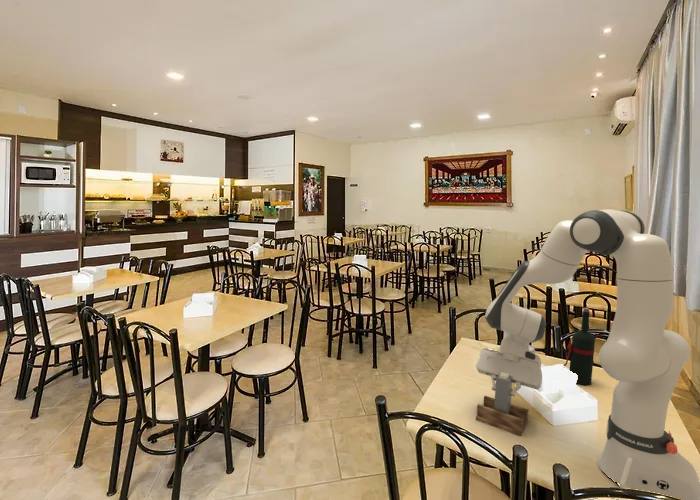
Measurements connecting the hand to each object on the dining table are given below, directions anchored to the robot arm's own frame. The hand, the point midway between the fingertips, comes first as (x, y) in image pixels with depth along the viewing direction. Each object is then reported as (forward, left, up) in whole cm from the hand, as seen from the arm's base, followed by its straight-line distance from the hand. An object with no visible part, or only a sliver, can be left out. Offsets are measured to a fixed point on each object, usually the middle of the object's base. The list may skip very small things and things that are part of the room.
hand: (502, 392), depth 120 cm
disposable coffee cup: (+3, -39, -10) cm, 40 cm away
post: (0, -1, -7) cm, 7 cm away
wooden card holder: (0, -1, -10) cm, 10 cm away
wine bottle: (-16, -47, -10) cm, 50 cm away
